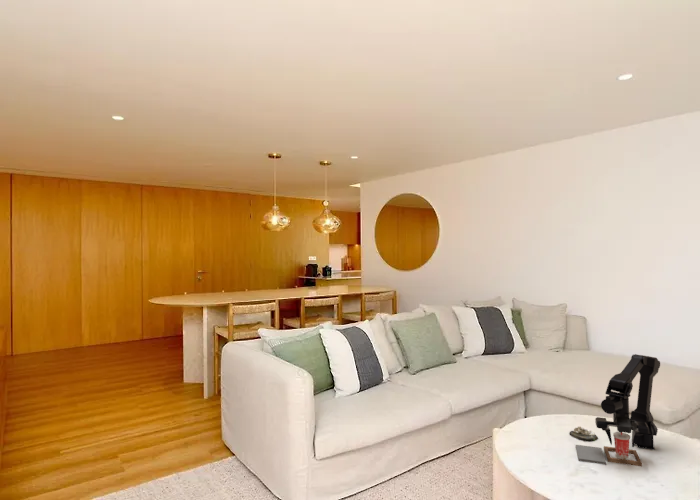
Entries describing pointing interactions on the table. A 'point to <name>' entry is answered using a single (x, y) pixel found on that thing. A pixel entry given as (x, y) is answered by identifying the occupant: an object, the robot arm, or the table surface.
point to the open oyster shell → (583, 434)
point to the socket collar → (623, 461)
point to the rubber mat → (590, 454)
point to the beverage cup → (621, 444)
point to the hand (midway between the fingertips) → (621, 445)
